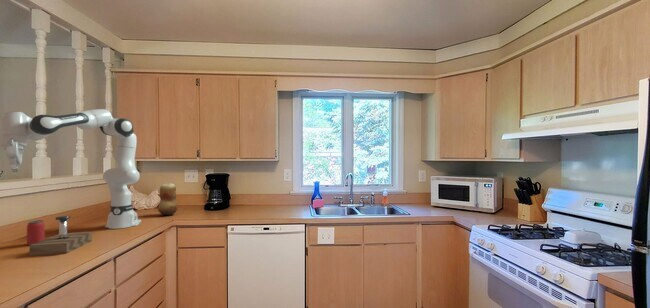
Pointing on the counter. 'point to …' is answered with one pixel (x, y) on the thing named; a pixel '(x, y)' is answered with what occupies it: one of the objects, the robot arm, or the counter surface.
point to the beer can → (35, 232)
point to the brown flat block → (60, 244)
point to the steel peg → (62, 226)
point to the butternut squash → (168, 199)
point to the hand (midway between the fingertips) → (14, 170)
